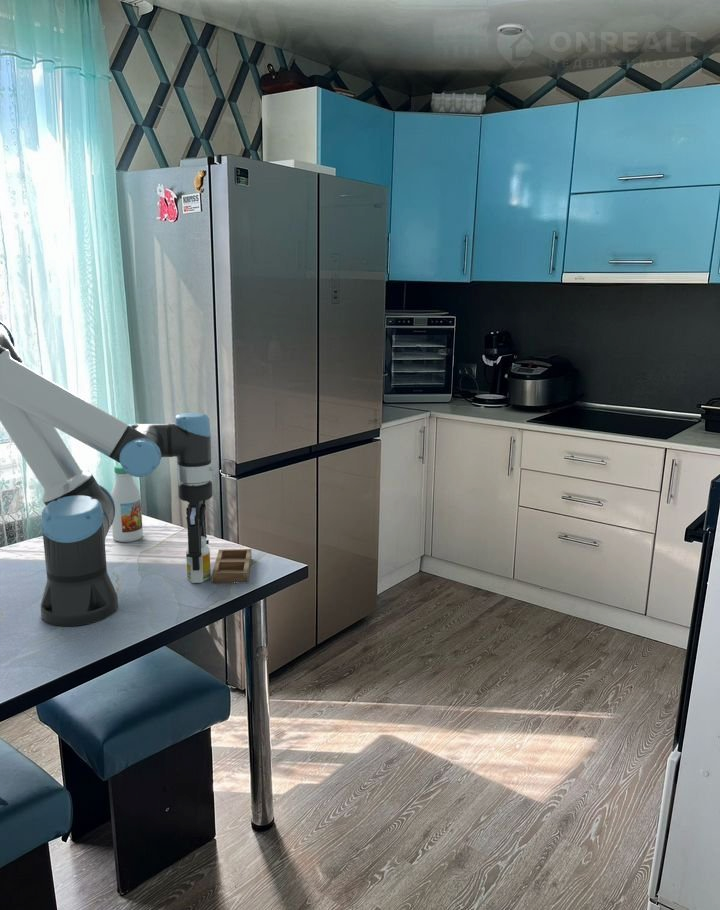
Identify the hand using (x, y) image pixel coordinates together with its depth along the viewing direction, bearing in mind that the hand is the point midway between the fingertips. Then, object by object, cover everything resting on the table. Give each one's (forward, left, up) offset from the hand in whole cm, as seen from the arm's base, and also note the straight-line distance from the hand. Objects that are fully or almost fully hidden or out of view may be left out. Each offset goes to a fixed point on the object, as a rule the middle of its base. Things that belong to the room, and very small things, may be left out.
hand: (199, 576), depth 169 cm
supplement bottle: (0, 0, -1) cm, 1 cm away
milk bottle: (+28, +23, -1) cm, 36 cm away
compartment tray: (+4, -7, 0) cm, 9 cm away
